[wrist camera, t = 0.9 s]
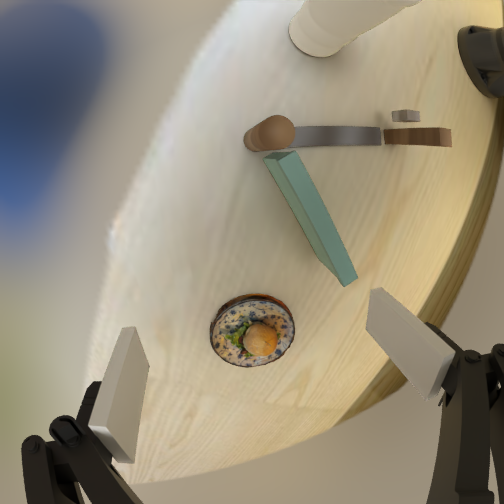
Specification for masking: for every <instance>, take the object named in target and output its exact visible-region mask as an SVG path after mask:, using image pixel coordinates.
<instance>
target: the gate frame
mask: <svg viewBox="0 0 504 504" xmlns="http://www.w3.org/2000/svg"><path fill="white" fill-rule="evenodd" d="M392 119H393V121H395V122H419V121H420V114H419V111H413V110H400V111H393V112H392ZM384 136H385V144H399V145H426V146H442V147H452V140H451V129H446V128H405V129H388V130H384ZM244 144H245V146H246V147H247V148H248V149H249V150H251V151H255V152H257V151H267V150H278V149H284V148H286V147H302V146H327V145H381V133H380V128H378V127H353V126H307V127H294V125H293V123H292V122H291V121H290V120H289V119H288V118H286V117H284V116H280V115H274V116H271V117H269V118H267V119H265V120H264V121H262V122H261V123H259V124H258V125H256V126H254V127H253V128H251V129H250V130H248V131H247V132H246V133H245V135H244Z"/></svg>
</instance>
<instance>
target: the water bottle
mask: <svg viewBox="0 0 504 504" xmlns="http://www.w3.org/2000/svg"><path fill="white" fill-rule="evenodd" d="M420 1H421V0H306V1H305V3H304V4H303V5H302V7H301V9H300V11H299V12H298V13H297V14H296V15H295V16H294V17H293V19H292V20H291V22H290V25H289V34H290V37H291V39H292V41H293V42H294V44H295V45H296V46H297V47H298V48H299V49H300V50H302V51H303V52H305V53H307V54H309V55H312V56H316V57H328V56H331V55H333V54H335V53H336V52H338V51H339V50H340V49H342V48H343V47H344V46H345V45H347V44H349V43H351V42H352V41H354V40H355V39H356V38H357V37H358V36H359V35H361V34H363V33H365V32H367V31H369V30H371V29H372V28H374V27H376V26H378V25H379V24H381V23H383V22H384V21H386V20H388V19H389V18H391V17H392V16H394V15H395V14H397V13H398V12H400V11H401V10H402V9H404V8H405V7H410V6H413V5H415V4H417V3H419V2H420Z"/></svg>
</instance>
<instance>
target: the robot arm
mask: <svg viewBox="0 0 504 504" xmlns="http://www.w3.org/2000/svg"><path fill="white" fill-rule="evenodd" d="M458 46H459V51H460V54H461V58H462V61H463V63H464V66H465V68H466V70H467V72H468V74H469V76H470V78H471V79H472V81H473V82H474V84H475V85H476V87H477V88H478V89H479V90H480V91H481V92H482V93H483V94H484V95H486V96H487V97H490V98H499V97H503V96H504V27H503V28H498V29H494V28H488V27H482V26H474V25H472V26H467V27H464V28H462V29H461V30H460V31H459V34H458ZM366 330H367V332H368V333H369V334H370V335H371V336H372V337H373V339H374V340H375V341H376V342H377V343H378V344H379V346H380V347H381V348H382V349H383V350H384V351H385V353H386V354H387V355H388V356H389V357H390V358H391V360H392V361H393V362H394V363H395V364H396V366H397V367H398V368H399V369H400V370H401V372H402V373H403V374H404V375H405V376H406V378H407V379H408V380H409V381H410V382H411V384H412V385H413V386H414V387H415V389H416V390H417V391H418V392H419V394H421V396H422V397H423V398H424V399H425V401H427V400H429V399H431V398H433V397H435V396H437V395H438V393H439V391H440V388H441V386H442V388H443V389H444V390H445V392H444V394H443V396H442V398H441V400H440V402H439V404H438V406H440V405H441V403H442V402H443V405H442V418H441V428H440V436H439V444H438V451H437V457H436V463H435V468H434V473H433V479H432V483H431V487H430V491H429V495H428V499H427V503H426V504H494V493H493V492H492V491H489V490H488V480H489V467H490V447H491V451H492V456H493V461H494V466H495V472H496V478H497V485H498V493H499V502H500V504H504V344H496V345H494V346H493V348H492V351H491V353H489V354H484V355H481V354H480V353H478V352H476V351H474V350H465V351H463V350H462V349H461V348H460V347H459V346H458V345H457V344H456V343H454V342H453V341H452V340H451V339H450V338H449V337H447V336H446V335H445V334H444V333H443V332H442V331H441V330H440V329H438V328H437V327H436V326H434V325H432V324H430V323H428V322H426V323H423V322H422V321H421V320H420V319H418V318H417V317H416V316H415V315H414V314H413V313H411V312H410V311H409V310H408V309H407V308H406V307H404V306H403V305H402V304H401V303H400V302H398V301H397V300H396V299H395V298H394V297H392V296H391V295H390V294H389V293H388V292H386V291H385V290H384V289H383V288H382V287H380V288H376V289H372V290H370V299H369V307H368V315H367V323H366ZM149 367H150V366H149V363H148V360H147V358H146V355H145V352H144V350H143V347H142V344H141V341H140V338H139V336H138V333H137V330H136V327H125V328H122V330H121V332H120V335H119V337H118V340H117V343H116V345H115V348H114V350H113V353H112V356H111V358H110V361H109V364H108V366H107V369H106V372H105V375H104V378H103V380H102V381H93V382H92V384H91V385H90V386H89V387H88V388H87V390H86V393H85V395H84V399H83V401H82V405H81V406H80V409H79V412H78V415H77V418H76V420H75V419H74V418H73V417H71V416H68V415H63V416H59V417H57V418H56V419H54V420H53V422H52V423H51V424H50V428H49V433H50V435H51V436H52V437H53V439H54V440H55V441H50V442H45V441H44V440H43V439H42V438H41V437H40V436H38V435H31V436H29V437H27V438H26V439H25V440H24V442H23V443H22V448H21V452H22V465H23V476H24V484H25V491H26V498H27V503H28V504H85V503H84V500H83V497H82V494H81V490H80V487H79V483H80V485H81V487H82V488H83V490H84V492H85V493H86V495H87V496H88V498H89V500H90V501H91V502H92V504H143V503H142V501H141V500H140V499H139V498H138V497H137V496H136V494H135V493H134V492H133V491H132V489H131V488H130V487H129V486H128V484H127V483H126V482H125V481H124V479H123V478H122V477H121V475H120V474H119V473H118V471H117V470H116V469H115V467H114V466H113V465H112V464H111V462H112V456H113V457H114V459H115V460H116V461H117V462H118V463H131V464H134V463H135V454H136V446H137V439H138V431H139V424H140V418H141V411H142V405H143V399H144V394H145V388H146V382H147V377H148V372H149ZM499 382H500V385H501V388H499V387H498V384H499ZM78 482H79V483H78Z"/></svg>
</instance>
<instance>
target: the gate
mask: <svg viewBox="0 0 504 504" xmlns="http://www.w3.org/2000/svg"><path fill="white" fill-rule="evenodd" d="M263 161H264V162H265V164H266V166H267V167H268V169H269V171H270V172H271V174H272V176H273V177H274V179H275V181H276V183H277V184H278V186H279V188H280V190H281V191H282V193H283V195H284V197H285V198H286V200H287V202H288V204H289V205H290V207H291V209H292V211H293V213H294V214H295V216H296V218H297V220H298V222H299V223H300V225H301V227H302V229H303V231H304V233H305V235H306V236H307V238H308V240H309V242H310V244H311V246H312V248H313V250H314V251H315V253H316V255H317V257H318V259H319V260H320V261H321V262H322V263H323V264H324V265H325V266H326V267H327V268H328V269H329V270H330V271H331V272H332V273H333V274H334V275H335V276H336V277H337V278H338V280H339V282H340V283H341V284H342V285H343V287H345V286H347V285H348V284H350V283H351V282H353V281H354V280H356V279H357V278H358V276H357V274H356V271H355V269H354V267H353V264H352V262H351V260H350V258H349V255H348V253H347V251H346V249H345V247H344V244H343V242H342V240H341V238H340V236H339V234H338V232H337V229H336V227H335V225H334V223H333V221H332V219H331V217H330V215H329V213H328V211H327V209H326V207H325V205H324V203H323V201H322V199H321V197H320V195H319V193H318V191H317V189H316V187H315V185H314V183H313V182H312V180H311V178H310V176H309V174H308V172H307V170H306V168H305V167H304V165H303V163H302V161H301V159H300V158H299V156H298V154H297V152H296V151H291V152H277V153H272V154H270V155H268V156H266V157H265V158H263Z"/></svg>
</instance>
